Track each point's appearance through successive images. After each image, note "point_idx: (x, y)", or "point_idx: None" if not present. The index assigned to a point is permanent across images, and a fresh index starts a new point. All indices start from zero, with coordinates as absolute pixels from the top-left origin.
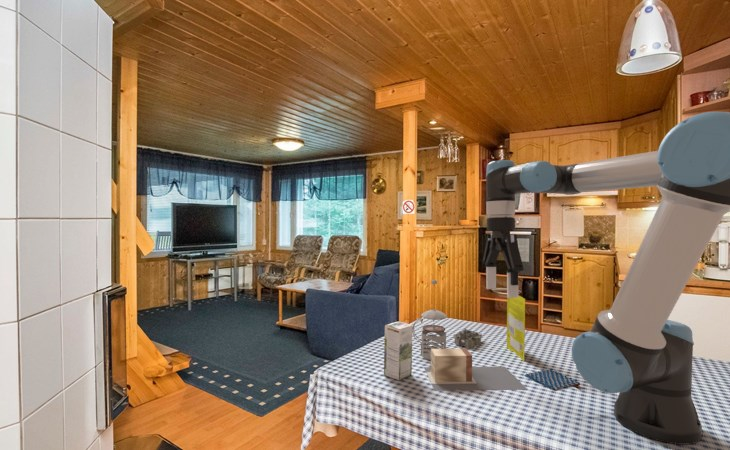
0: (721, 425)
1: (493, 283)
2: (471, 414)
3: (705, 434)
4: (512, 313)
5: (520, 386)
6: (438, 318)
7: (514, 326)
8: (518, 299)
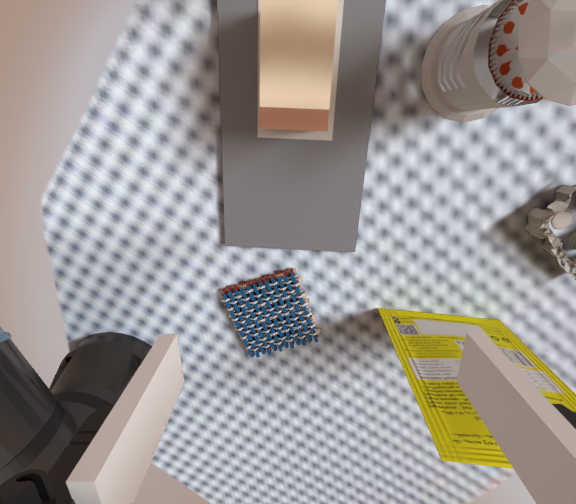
0: None
1: (479, 394)
2: (117, 69)
3: None
4: None
5: (239, 237)
6: (520, 35)
7: None
8: None
